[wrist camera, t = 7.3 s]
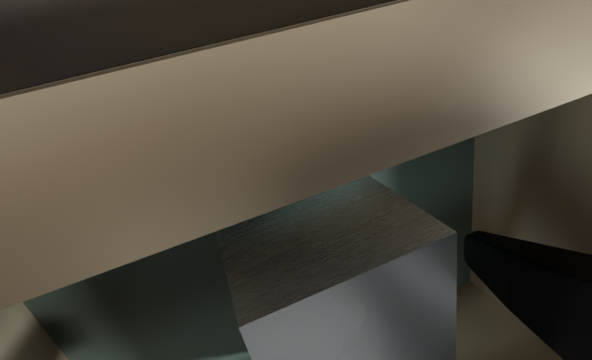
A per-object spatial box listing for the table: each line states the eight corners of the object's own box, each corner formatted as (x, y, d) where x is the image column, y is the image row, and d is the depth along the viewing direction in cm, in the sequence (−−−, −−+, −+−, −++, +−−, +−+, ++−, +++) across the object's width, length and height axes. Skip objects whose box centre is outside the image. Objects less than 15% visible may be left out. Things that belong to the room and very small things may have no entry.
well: (513, 287, 16) (626, 365, 12) (74, 509, 12) (22, 749, 8) (549, -37, 10) (792, -92, 6) (-312, 168, 6) (-1403, 436, 2)
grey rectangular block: (364, 302, 12) (455, 422, 8) (264, 348, 11) (312, 507, 7) (341, 157, 10) (457, 232, 6) (209, 202, 9) (238, 327, 5)
